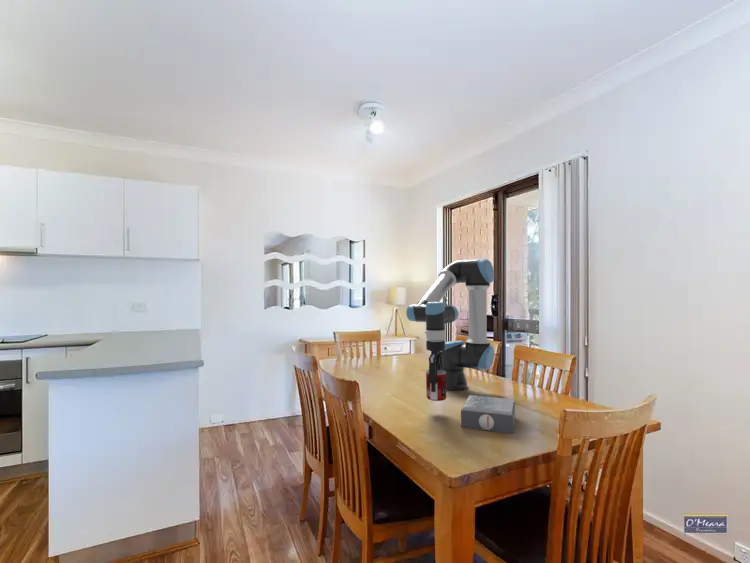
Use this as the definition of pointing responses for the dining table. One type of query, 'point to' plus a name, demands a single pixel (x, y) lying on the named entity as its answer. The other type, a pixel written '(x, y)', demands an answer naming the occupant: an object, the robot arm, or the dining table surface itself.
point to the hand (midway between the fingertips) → (436, 396)
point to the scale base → (488, 421)
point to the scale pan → (489, 405)
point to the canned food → (440, 385)
